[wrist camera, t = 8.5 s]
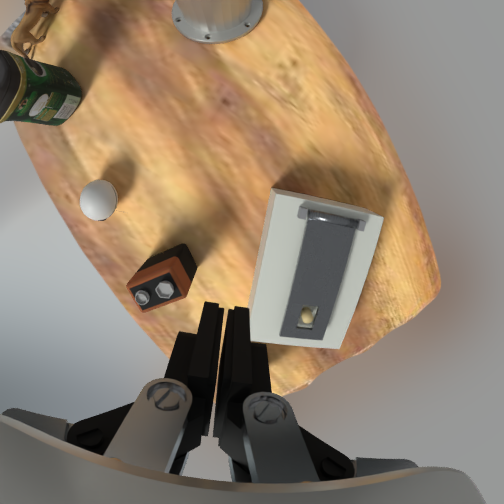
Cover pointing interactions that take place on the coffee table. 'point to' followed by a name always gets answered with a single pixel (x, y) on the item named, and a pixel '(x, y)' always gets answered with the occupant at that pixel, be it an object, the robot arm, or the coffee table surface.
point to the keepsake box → (285, 260)
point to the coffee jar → (36, 91)
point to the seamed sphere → (99, 200)
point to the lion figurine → (30, 24)
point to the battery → (163, 278)
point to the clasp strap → (318, 272)
